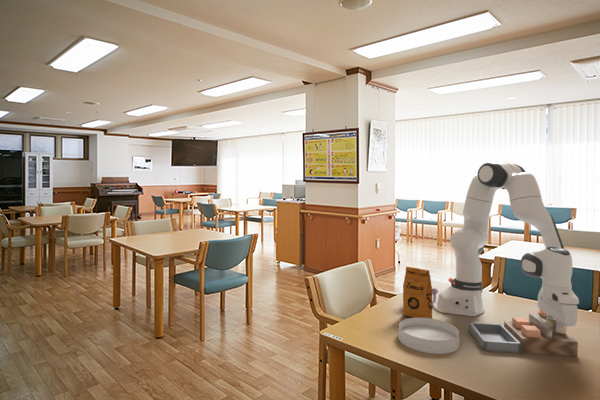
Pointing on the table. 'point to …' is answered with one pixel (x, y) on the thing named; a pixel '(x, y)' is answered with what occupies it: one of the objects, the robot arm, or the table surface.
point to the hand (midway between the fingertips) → (554, 328)
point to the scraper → (545, 325)
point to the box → (494, 337)
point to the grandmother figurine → (542, 312)
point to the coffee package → (417, 293)
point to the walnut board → (544, 342)
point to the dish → (429, 335)
